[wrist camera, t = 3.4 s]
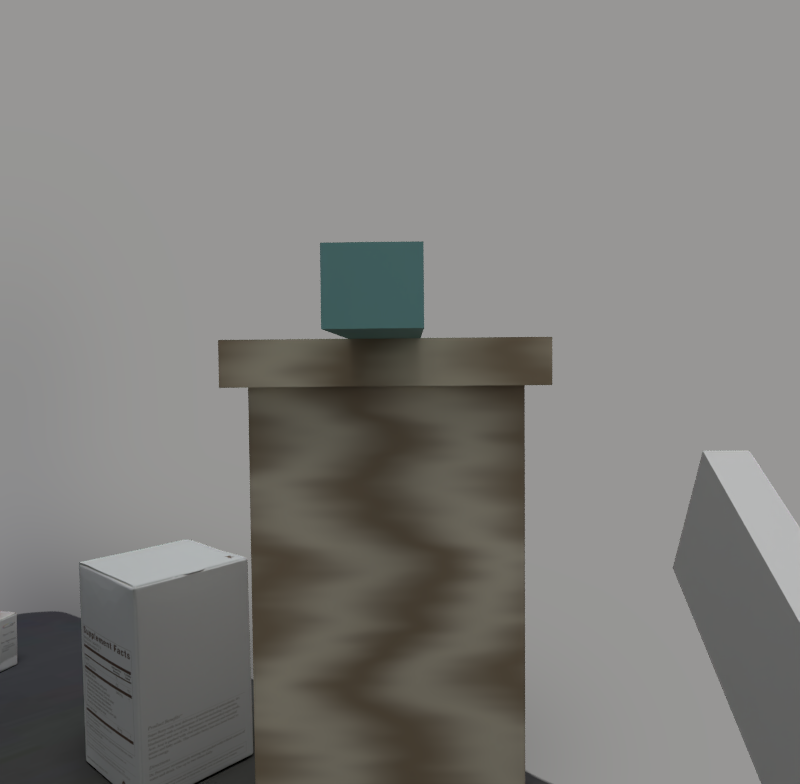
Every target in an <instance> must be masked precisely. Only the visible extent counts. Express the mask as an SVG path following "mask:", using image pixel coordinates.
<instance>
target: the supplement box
mask: <svg viewBox="0 0 800 784" xmlns="http://www.w3.org/2000/svg"><path fill="white" fill-rule="evenodd" d="M79 575H80V603H81V630H82V658H83V684H84V711H85V738H86V761H87V762H88V763H89V764H91V765H92V766H93V767H94V768H95V769H96V770H97V771H99V772H100V773H101V774H102V775H103V776H104V777H106V778H107V779H108V780H109V781H110V782H111V783H112V784H194V783H196V782H198V781H200V780H202V779H204V778H206V777H208V776H210V775H212V774H214V773H216V772H218V771H220V770H222V769H224V768H226V767H228V766H230V765H232V764H234V763H236V762H238V761H240V760H242V759H244V758H246V757H248V756H250V755H252V754H253V730H252V698H251V667H250V632H249V601H248V565H247V558H245V557H243V556H239V555H236V554H232V553H228V552H225V551H221V550H218V549H215V548H212V547H209V546H206V545H204V544H201V543H199V542H196V541H192V540H187V539H185V540H181V541H176V542H171V543H167V544H162V545H158V546H153V547H149V548H144V549H140V550H135V551H131V552H126V553H121V554H117V555H112V556H107V557H102V558H97V559H93V560H88V561H83V562H79Z"/></svg>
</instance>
